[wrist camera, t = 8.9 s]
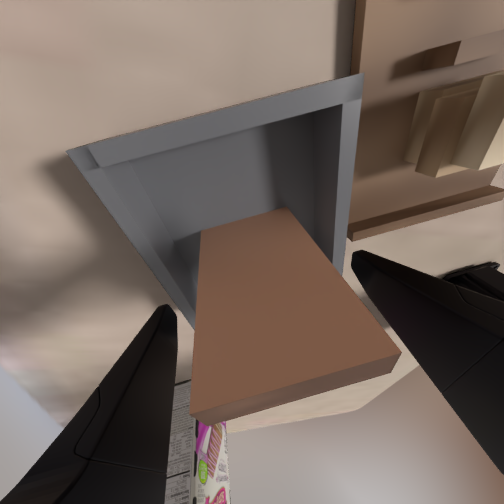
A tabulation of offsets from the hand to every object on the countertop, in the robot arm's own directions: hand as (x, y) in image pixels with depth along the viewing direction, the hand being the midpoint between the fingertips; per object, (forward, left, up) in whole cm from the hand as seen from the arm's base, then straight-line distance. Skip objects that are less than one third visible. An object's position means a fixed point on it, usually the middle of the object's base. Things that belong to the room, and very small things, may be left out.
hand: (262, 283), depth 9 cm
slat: (0, 0, -6) cm, 6 cm away
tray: (0, 0, -6) cm, 6 cm away
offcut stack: (+4, -13, -6) cm, 15 cm away
